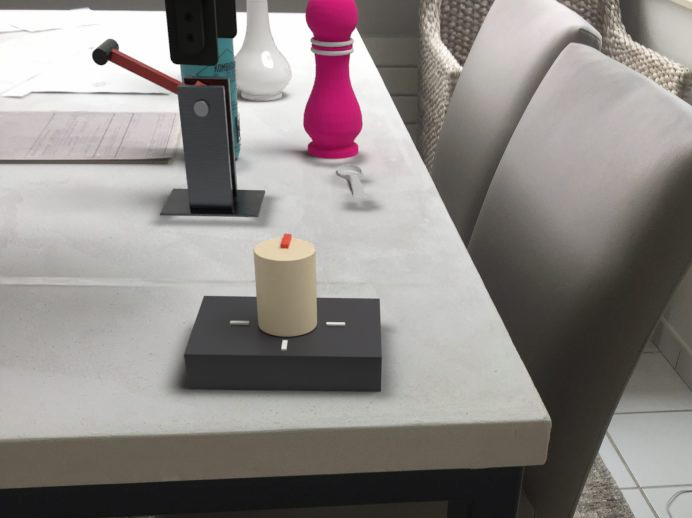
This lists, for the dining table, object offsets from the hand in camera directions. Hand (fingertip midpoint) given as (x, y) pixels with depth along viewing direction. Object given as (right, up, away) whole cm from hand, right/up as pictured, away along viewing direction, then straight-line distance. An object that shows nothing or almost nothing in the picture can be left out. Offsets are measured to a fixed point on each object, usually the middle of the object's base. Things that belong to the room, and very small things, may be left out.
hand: (206, 49), depth 64 cm
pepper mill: (+7, +10, +47) cm, 48 cm away
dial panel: (+6, -22, +4) cm, 23 cm away
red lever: (-10, +8, +23) cm, 26 cm away
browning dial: (+6, -19, +3) cm, 20 cm away
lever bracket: (-5, -2, +30) cm, 31 cm away
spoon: (+9, +3, +37) cm, 38 cm away
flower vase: (-5, +30, +72) cm, 78 cm away
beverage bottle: (-7, +8, +43) cm, 44 cm away
